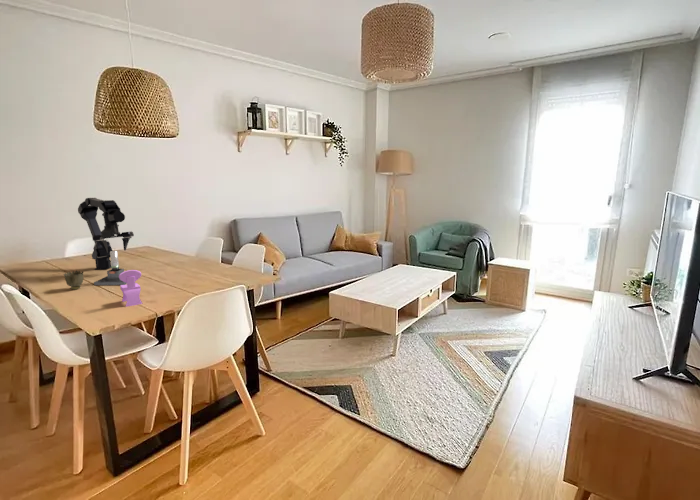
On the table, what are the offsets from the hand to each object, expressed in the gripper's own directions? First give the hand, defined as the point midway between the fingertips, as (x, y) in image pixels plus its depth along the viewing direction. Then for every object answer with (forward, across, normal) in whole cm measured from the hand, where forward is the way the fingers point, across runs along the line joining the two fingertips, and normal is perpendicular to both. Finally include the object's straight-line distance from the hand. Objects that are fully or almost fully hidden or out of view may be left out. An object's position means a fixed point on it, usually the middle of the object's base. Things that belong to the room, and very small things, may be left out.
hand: (116, 251), depth 203 cm
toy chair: (+21, +24, -51) cm, 60 cm away
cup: (+14, -8, -28) cm, 33 cm away
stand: (+14, +5, -16) cm, 22 cm away
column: (+11, +5, -16) cm, 20 cm away
